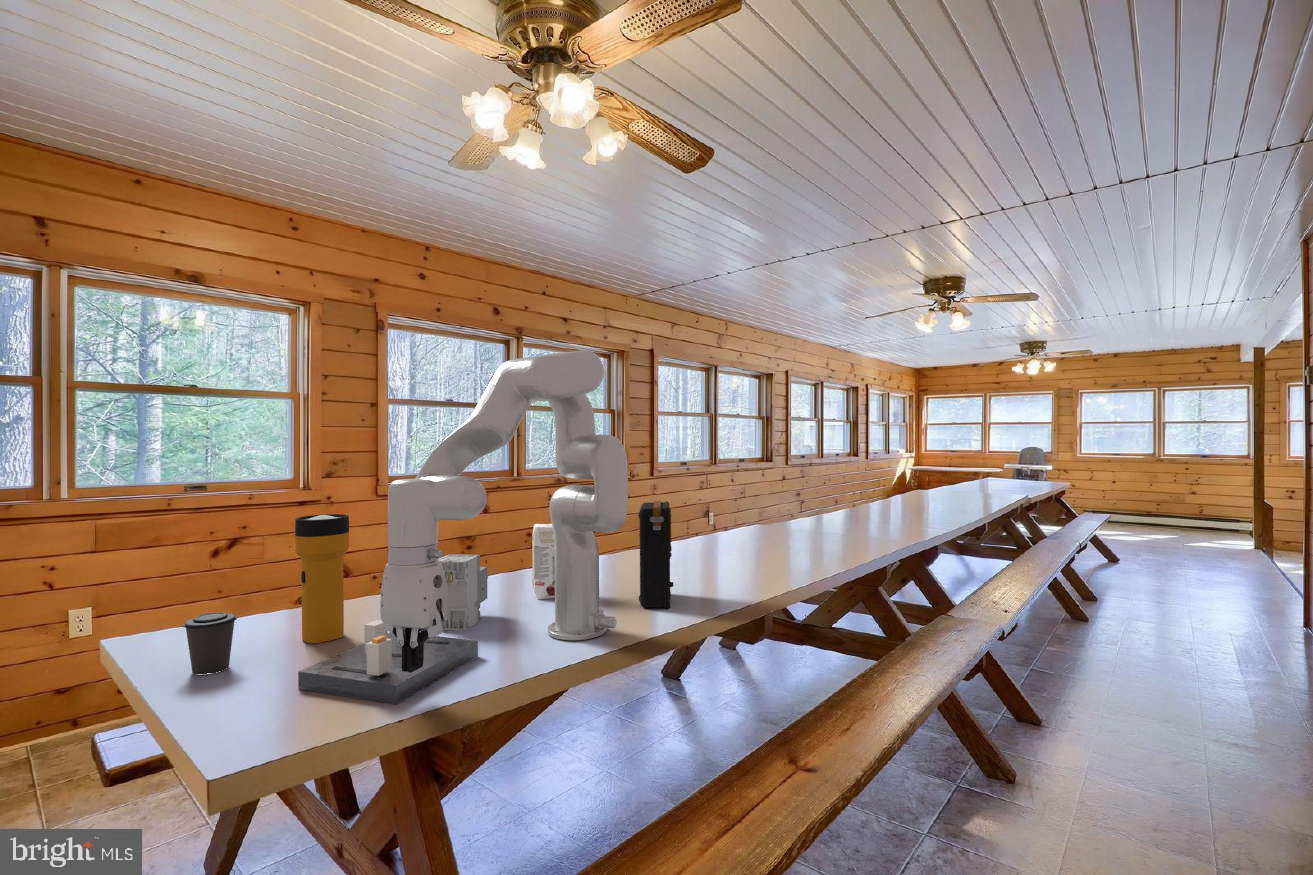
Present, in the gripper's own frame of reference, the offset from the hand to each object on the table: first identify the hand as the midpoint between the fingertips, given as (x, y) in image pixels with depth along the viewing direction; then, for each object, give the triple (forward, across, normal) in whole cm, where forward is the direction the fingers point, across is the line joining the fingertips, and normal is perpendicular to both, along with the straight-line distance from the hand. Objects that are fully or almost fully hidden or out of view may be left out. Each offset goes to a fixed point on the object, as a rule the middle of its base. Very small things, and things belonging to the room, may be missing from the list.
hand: (412, 669), depth 98 cm
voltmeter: (+4, -20, -66) cm, 69 cm away
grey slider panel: (+5, +11, -8) cm, 14 cm away
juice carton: (+4, +9, -63) cm, 64 cm away
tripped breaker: (+1, +7, 0) cm, 7 cm away
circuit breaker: (+5, +18, -38) cm, 43 cm away
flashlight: (+5, +39, -19) cm, 44 cm away
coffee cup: (+5, +44, +1) cm, 44 cm away
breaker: (+1, +15, -8) cm, 17 cm away
